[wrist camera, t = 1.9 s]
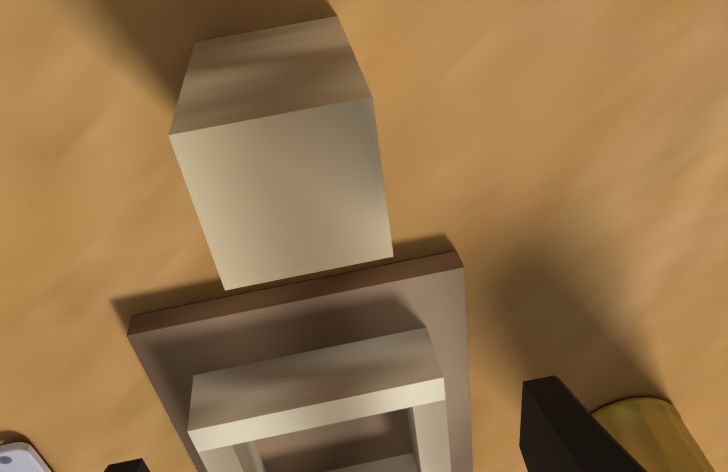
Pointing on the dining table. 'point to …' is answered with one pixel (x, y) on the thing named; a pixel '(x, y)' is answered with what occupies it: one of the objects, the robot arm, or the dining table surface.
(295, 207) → the birch peg
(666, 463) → the vase
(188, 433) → the socket board
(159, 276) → the dining table surface
